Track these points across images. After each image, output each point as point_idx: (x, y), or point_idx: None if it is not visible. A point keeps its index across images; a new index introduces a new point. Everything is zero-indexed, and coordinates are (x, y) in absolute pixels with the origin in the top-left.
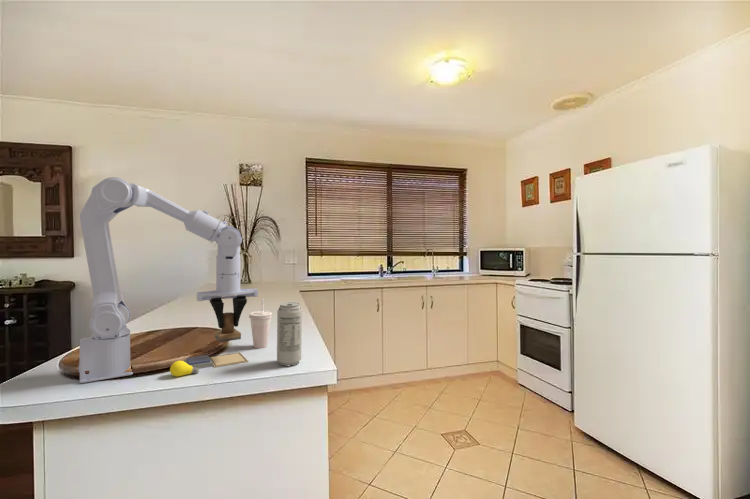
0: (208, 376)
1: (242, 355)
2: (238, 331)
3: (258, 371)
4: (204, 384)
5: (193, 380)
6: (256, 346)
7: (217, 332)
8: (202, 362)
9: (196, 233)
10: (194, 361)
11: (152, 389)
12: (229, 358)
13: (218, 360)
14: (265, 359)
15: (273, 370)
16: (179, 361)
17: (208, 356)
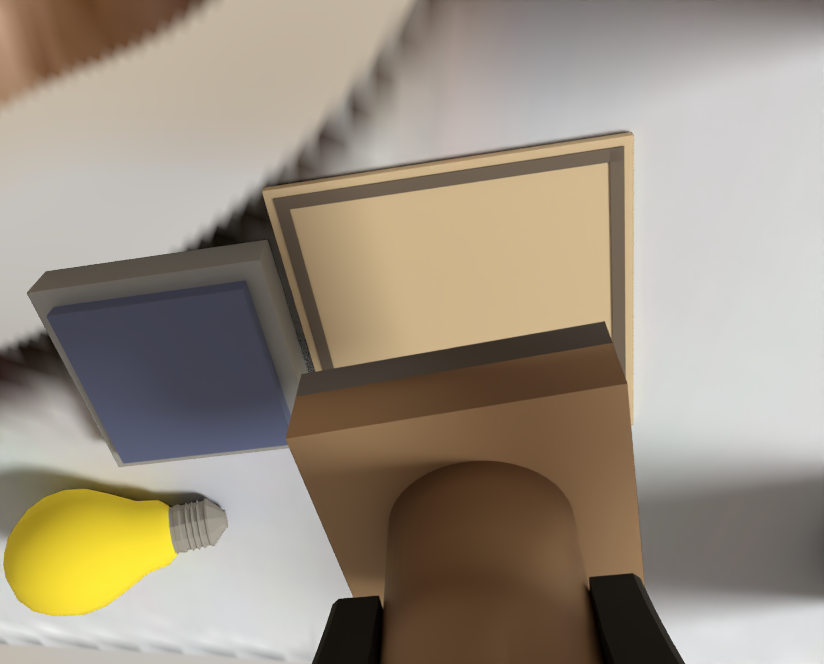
0: (305, 574)
1: (627, 263)
2: (636, 544)
3: None
4: (291, 656)
5: (217, 597)
6: None
7: (328, 500)
8: (230, 443)
9: None
10: (155, 431)
11: (10, 631)
12: (481, 307)
13: (372, 328)
14: (793, 413)
15: (734, 613)
16: (54, 604)
17: (265, 285)
